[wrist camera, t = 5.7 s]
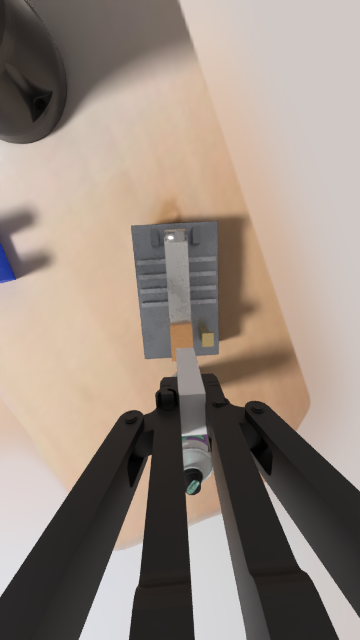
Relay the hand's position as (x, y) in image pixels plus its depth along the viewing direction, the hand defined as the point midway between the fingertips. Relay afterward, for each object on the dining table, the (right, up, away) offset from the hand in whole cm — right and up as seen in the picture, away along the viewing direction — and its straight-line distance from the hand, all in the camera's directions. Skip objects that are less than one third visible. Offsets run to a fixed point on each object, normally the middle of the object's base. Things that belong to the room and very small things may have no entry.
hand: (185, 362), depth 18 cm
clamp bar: (-1, +7, +12) cm, 14 cm away
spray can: (0, -9, +23) cm, 25 cm away
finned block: (-1, +9, +18) cm, 20 cm away
